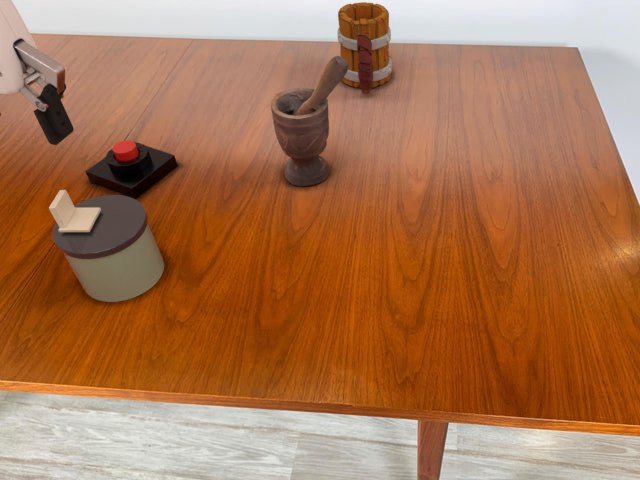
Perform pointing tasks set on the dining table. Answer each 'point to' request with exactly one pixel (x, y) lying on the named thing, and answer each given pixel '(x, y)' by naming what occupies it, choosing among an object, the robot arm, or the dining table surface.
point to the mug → (365, 44)
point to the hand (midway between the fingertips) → (25, 130)
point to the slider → (72, 214)
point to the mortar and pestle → (306, 125)
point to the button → (125, 150)
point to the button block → (132, 171)
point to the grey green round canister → (113, 250)
